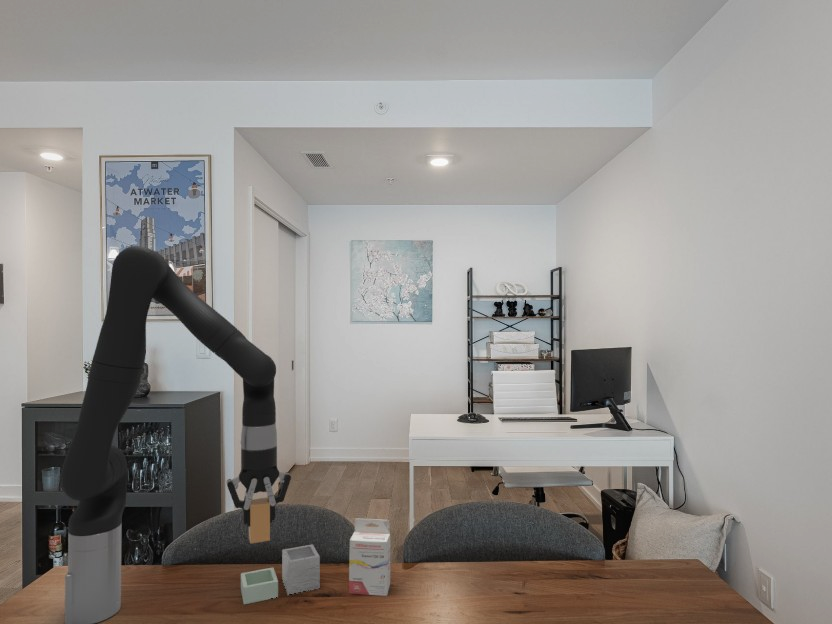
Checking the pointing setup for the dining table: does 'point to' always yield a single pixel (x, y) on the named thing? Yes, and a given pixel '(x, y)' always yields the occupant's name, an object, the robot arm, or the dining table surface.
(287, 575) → the upper socket
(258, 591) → the lower socket
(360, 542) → the ink cartridge box
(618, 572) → the dining table surface
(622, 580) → the dining table surface
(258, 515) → the plug
